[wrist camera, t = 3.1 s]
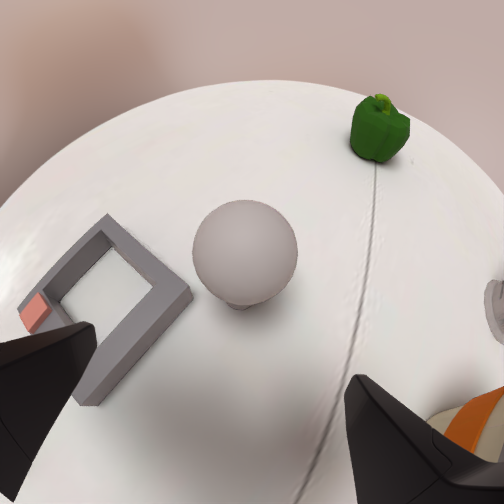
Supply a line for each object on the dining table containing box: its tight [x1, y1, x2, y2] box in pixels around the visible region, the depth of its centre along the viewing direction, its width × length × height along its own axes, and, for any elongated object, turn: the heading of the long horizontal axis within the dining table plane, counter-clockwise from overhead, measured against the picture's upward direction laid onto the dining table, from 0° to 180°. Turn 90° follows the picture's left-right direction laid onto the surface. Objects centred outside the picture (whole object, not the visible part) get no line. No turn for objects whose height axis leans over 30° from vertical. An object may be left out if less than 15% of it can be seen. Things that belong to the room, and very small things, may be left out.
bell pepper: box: [350, 94, 410, 163], centre depth 31 cm, size 8×8×10 cm
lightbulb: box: [192, 200, 298, 310], centre depth 18 cm, size 6×6×11 cm
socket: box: [17, 213, 193, 406], centre depth 19 cm, size 11×13×4 cm
